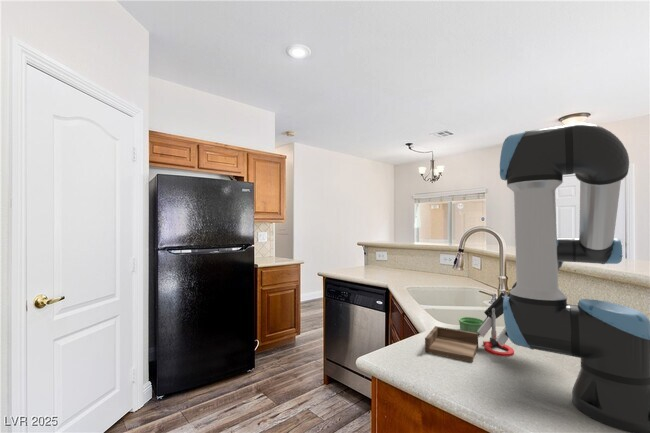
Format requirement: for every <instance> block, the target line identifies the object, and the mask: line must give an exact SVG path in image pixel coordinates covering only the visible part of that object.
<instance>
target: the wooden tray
mask: <svg viewBox="0 0 650 433" xmlns="http://www.w3.org/2000/svg"><path fill="white" fill-rule="evenodd" d="M478 348H479V335H478V333H475V332H468V331H462V330H460V329H455V328H449V327H443V326H442V327H441V326H435V325H434V327H433V328H432V329H431V330H430V332H429V333H428V334H427V335H426V337H424V349H425V350H424V351H425V353H427V354H432V355H437V356H442V357H447V358H452V359H455V360H461V361H466V362H471V363H473V362H474V360H475V356H476V354H477V351H478Z"/></svg>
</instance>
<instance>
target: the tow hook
mask: <svg viewBox="0 0 650 433" xmlns="http://www.w3.org/2000/svg"><path fill="white" fill-rule="evenodd" d="M496 321H497V320H496V315H495V308H492V327H491V329H490V330H491V331H490V337H489V340H488V341H487V340H486V341H485V340H483V341H482V344H483V346H484V350H485V351H486V352H487V353H489V354H491V355H495V356H499V357H511V356H512V357H513V355H515V350H514V349H513V347H511V346H509V345H507V344H506V343H505V344H504V345H503V346H501V345H500V344H499V343H498V342H497V341H496V338H497V337H498V336H497V334H498V333H497V325H496V324H497V323H496ZM492 347H499V348H500V349H501V348H502V349H504V350H507V351H497V350H494V349H493V348H492Z"/></svg>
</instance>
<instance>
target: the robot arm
mask: <svg viewBox="0 0 650 433" xmlns="http://www.w3.org/2000/svg"><path fill="white" fill-rule="evenodd" d="M499 158H500V159H499V177H500V179H501V180H502V181H506V187H508V188H509V189H510V190H511V191H512V192H513V197H514V198H513V202H514V235H515V236H514V239H515V270H516V271H515V274H516V275H515V280H516V282H514V284H513V285H512V287H511V289H510V290H509V293H508V294H504V293H503V292H501V293H500V294H499V296H498V297H497V299H495V300H494V302H492V303H491V305H489V307H488V308H486V310H485V311H484V314H485V315H486V317H485V319H484V320H483V321H484V322H483V323H482V325H481V327H480V328H479V329H478V331H477V332H478V333H479V334H480V335H479V336H481V337H482V338H484V337H485V336H486V335H487V334H488V332H489V331H490V330H491V329H492V308H495V315H496V319H498V318H499V317H501V316H503V319H504V320H503V321H504V326H505V327H504V328H503V329H502V331H501V332H500V333H499V335H498V336H496V337H497V338H496V341H497V342H498V343H499V344H500V345H501V346H503V345H504V344H505V345H506V342H507V341H508V340H509V341H511V343H512V344H514V345H516V346H517V347H518V346H520V347H523V348H526V349H530V350H532V351H533V350H536V351H537V350H538V351H544V352H547V353H552V354H558V355H563V356H568V357H574V358H579V359H580V368H579V369H580V370H579V372H578V375H577V377H576V379H575V383H574V385H573V387H572V391H571V397H572V398H571V399H572V403H573V404H574V406H575V407H576V408H577V409H578V410H579V411H580V412H582V413H583V414H584V415H586V416H588V417H590V418H592V419H593V420H595V421H597V422H600V423H602V424H605V425H607V426H609V427H613V428H615V429H619V430H622V431H626V432H630V433H650V319H649V318H648V316H647V315H646V314H645V313H642V312H641V311H639V310H636V309H634V308H632V307H629V306H624V305H621V304H617V303H614V302H610V301H604V300H599V299H589V298H582V299H580V300H579V301H578V302H577V305H576V304H568V303H567V301H568V300H567V295H566V294H565V293H564V292H562V290H560V288H559V271H558V270H560V269H561V268H562V265H563V264H564V263H584V264H597V265H598V264H600V265H609V264H610V265H611V264H613V265H615V264H620V263H621V262H622V260H623V246H622V245H623V244H622V241H621V240H620V239H619V238H615V232H616V225H617V216H618V207H619V198H620V190H621V185H622V184H621V183H622V181H623V180H625V178H626V177H627V176H628V174H629V168H630V156H629V153H628V150H627V148H626V147H625V145H624V144H623V142H622V141H621V140H620V139H619V137H618V136H616V134H614V133H613V132H612V131H610V130H608V129H606V128H604V127H603V126H600V125H597V124H595V123H594V124H593V123H588V122H587V123H586V122H579V123H571V124H567V125H563V126H562V125H560V126H554V127H547V128H541V129H540V128H539V129H533V130H526V131H523V132H519V133H514V134H510V135H508V136H507V137H506V138H505V139H504V141H503V143H502V146H501V151H500V157H499ZM573 174H574V175H575V177H576V179H577V181H579V185H580V186H579V230H578V231H579V233H578V234H579V237H557V236H558V234H557V210H556V209H557V208H556V190H557V189H558V187H559V186H561V185H562V184H563V183H564V181H563V180H564V179H563V176H564V175H565V176H567V175H573Z"/></svg>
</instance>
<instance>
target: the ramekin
mask: <svg viewBox="0 0 650 433" xmlns="http://www.w3.org/2000/svg"><path fill="white" fill-rule="evenodd" d="M458 322H459V330H462V331H468V332H475V333H478V332H477V331H478V329H479V328H480V327H481V325H482V323H483V322H484V320H483V319H482V318H477V317H471V316H461V317H459V318H458ZM478 336H481V335H480V334H479V333H478Z"/></svg>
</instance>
